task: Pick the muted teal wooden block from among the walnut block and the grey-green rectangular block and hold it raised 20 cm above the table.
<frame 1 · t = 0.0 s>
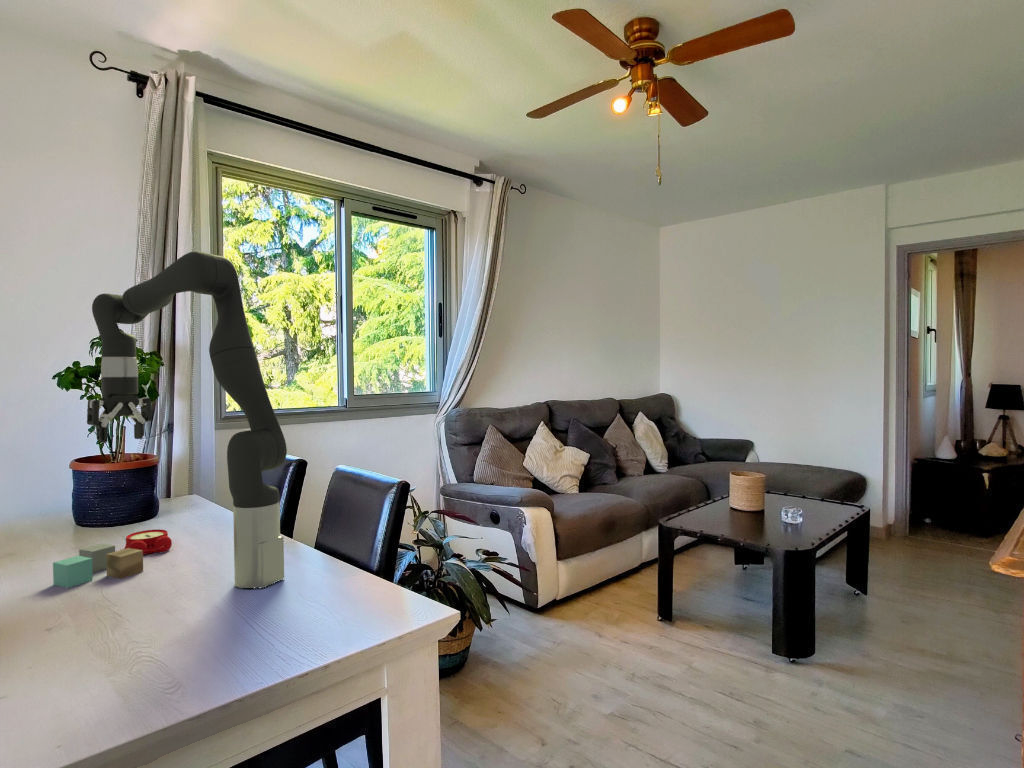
hand: (121, 440, 141), 29 cm above the table, tool pointing down, fingers open, 8 cm apart
grey-green rectangular block: (97, 568, 134), on the table
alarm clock: (148, 552, 147), on the table
walnut block: (125, 573, 130), on the table
teal block: (73, 582, 124), on the table
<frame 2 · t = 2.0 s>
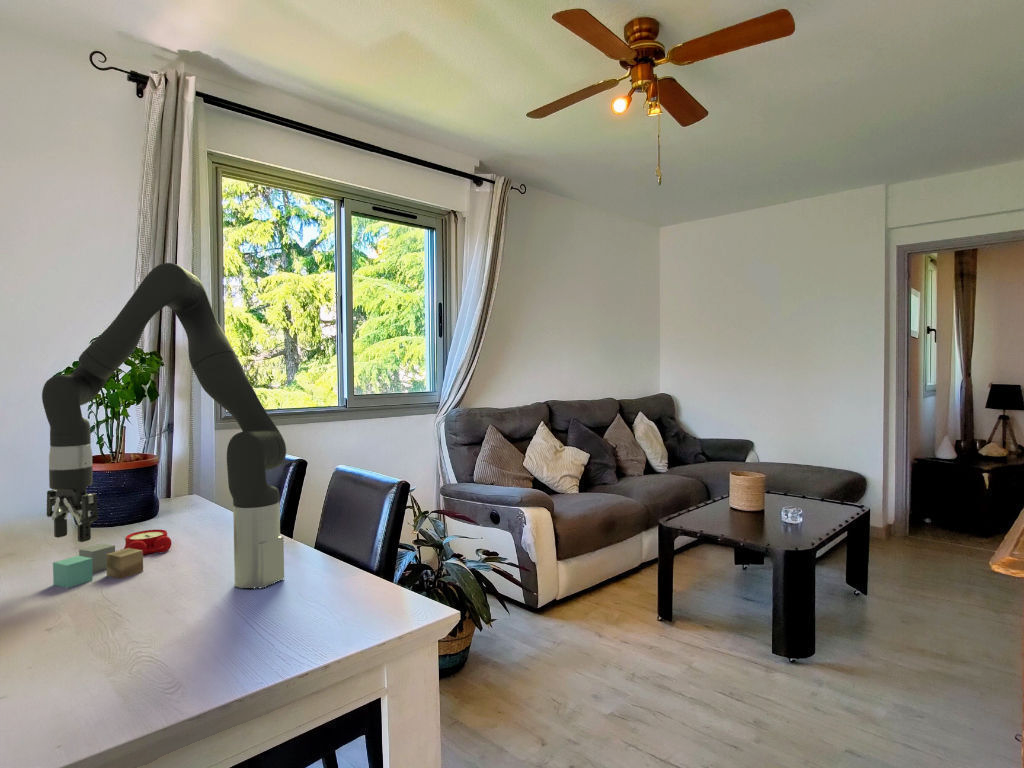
hand: (72, 538, 124), 10 cm above the table, tool pointing down, fingers open, 8 cm apart
nothing on the table moved.
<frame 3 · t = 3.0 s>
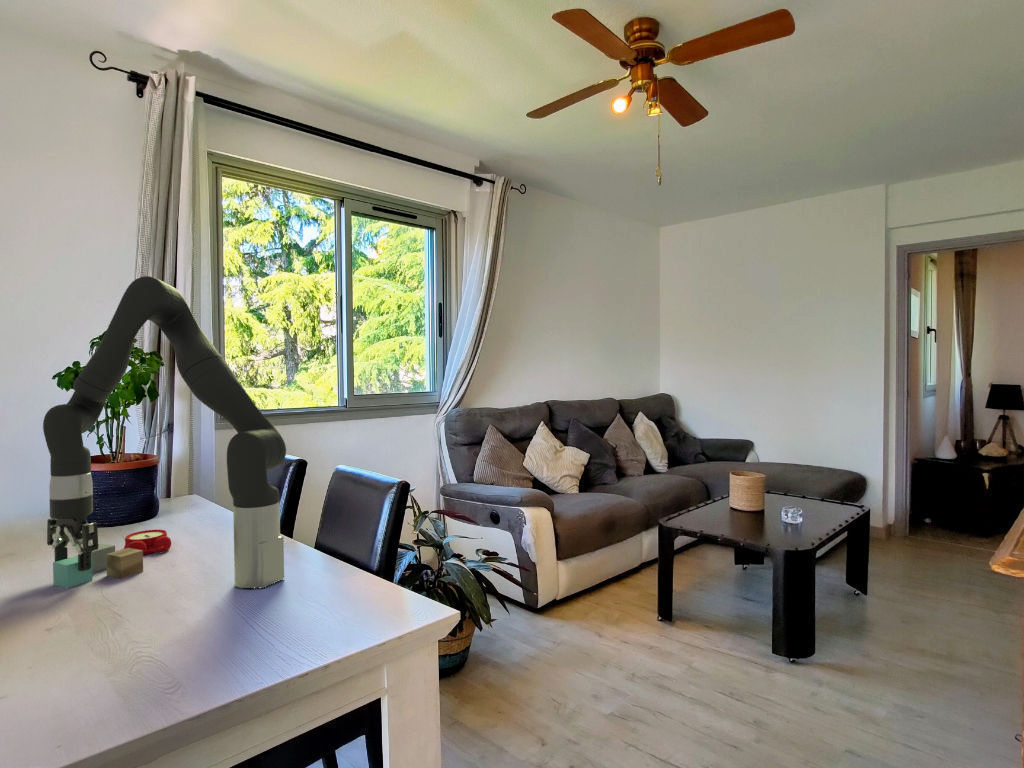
hand: (72, 567, 125), 3 cm above the table, tool pointing down, fingers open, 8 cm apart
nothing on the table moved.
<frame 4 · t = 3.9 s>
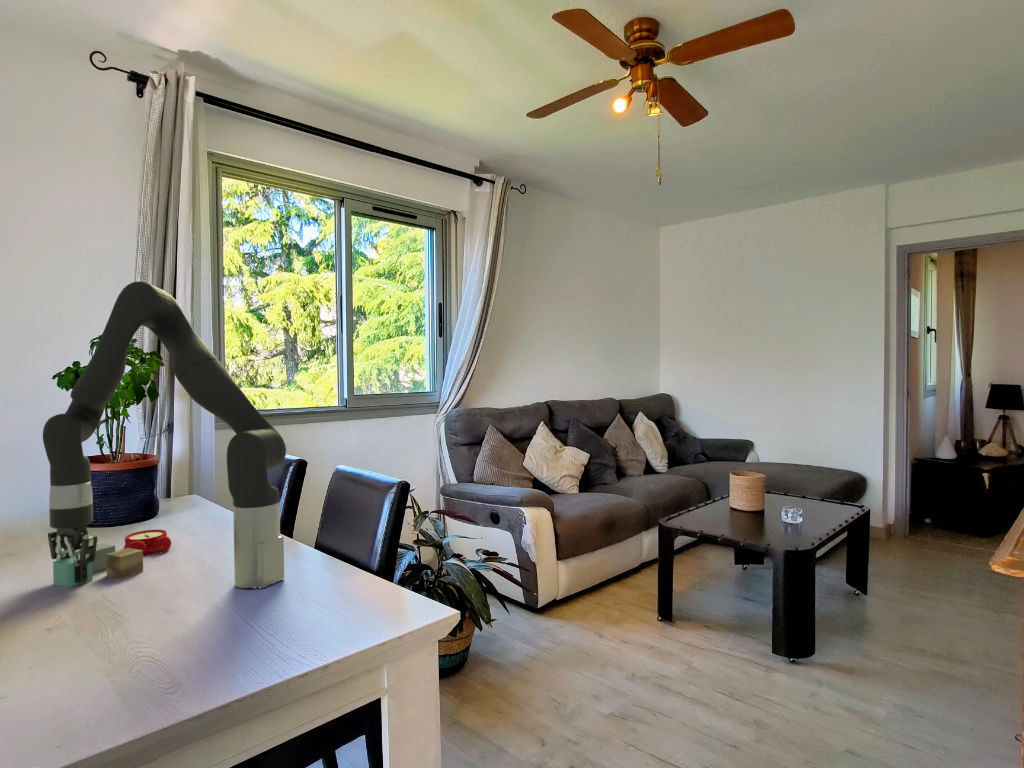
hand: (73, 580, 124), 0 cm above the table, tool pointing down, fingers closed on teal block, 5 cm apart
teal block: (73, 582, 124), on the table, touching gripper
everything else where it was.
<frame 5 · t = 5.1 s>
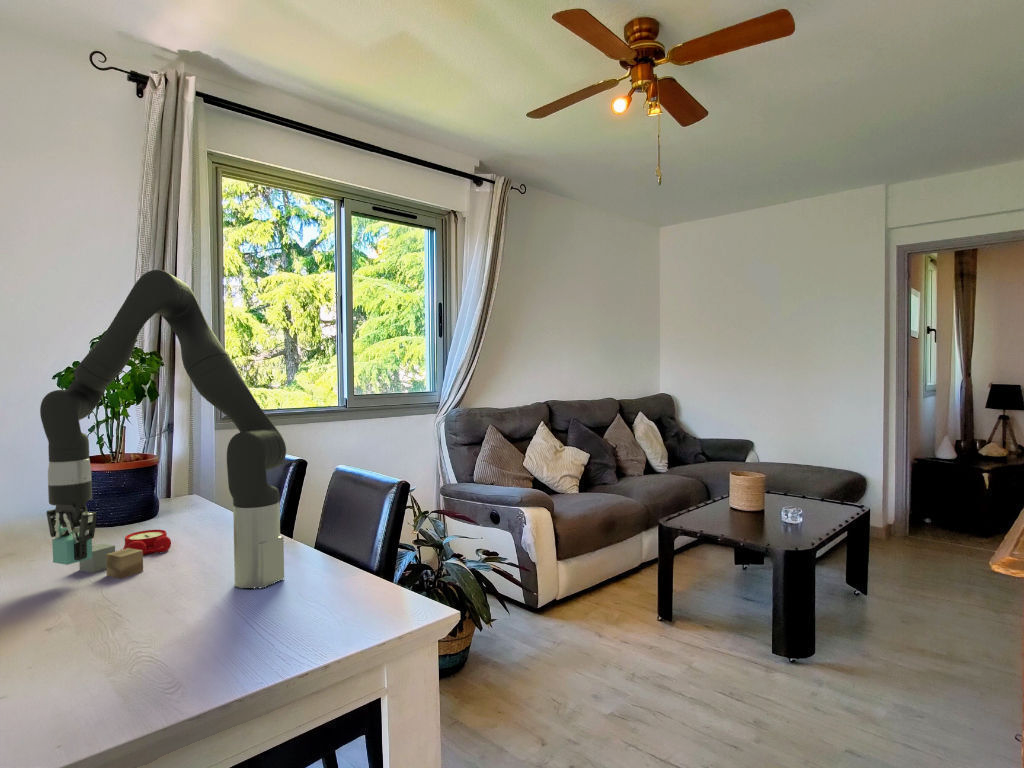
hand: (72, 557, 124), 6 cm above the table, tool pointing down, fingers closed on teal block, 5 cm apart
teal block: (72, 560, 124), point 5 cm above the table, touching gripper
everything else where it was.
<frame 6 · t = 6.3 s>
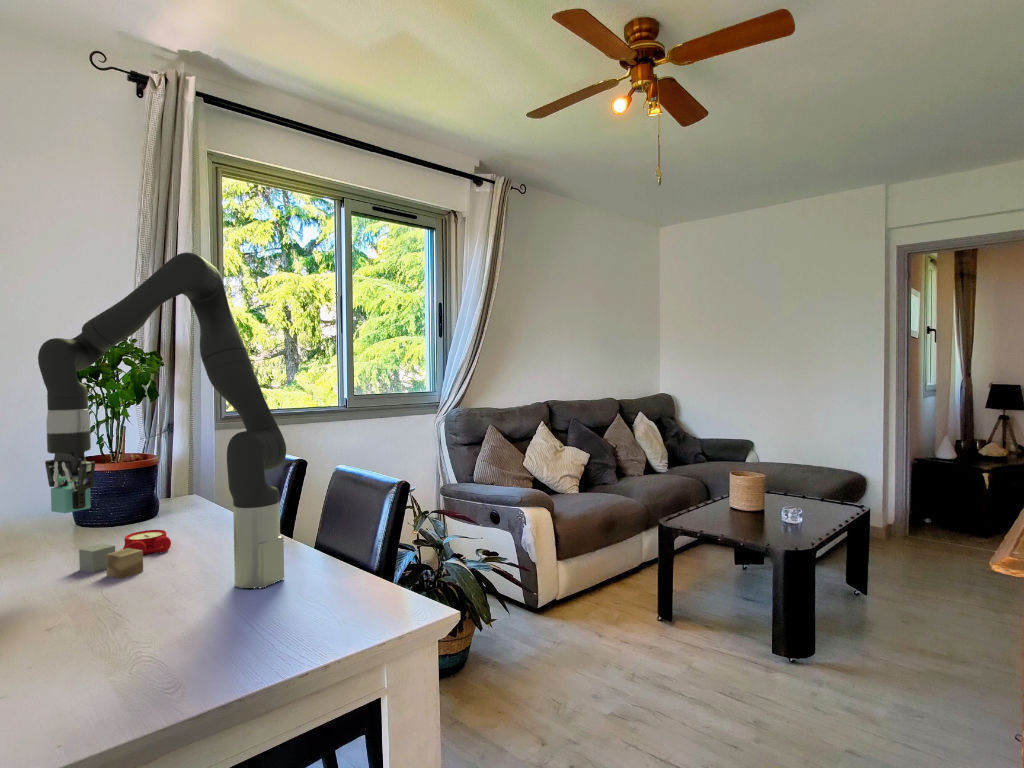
hand: (71, 507, 124), 17 cm above the table, tool pointing down, fingers closed on teal block, 5 cm apart
teal block: (71, 509, 124), point 16 cm above the table, touching gripper
everything else where it was.
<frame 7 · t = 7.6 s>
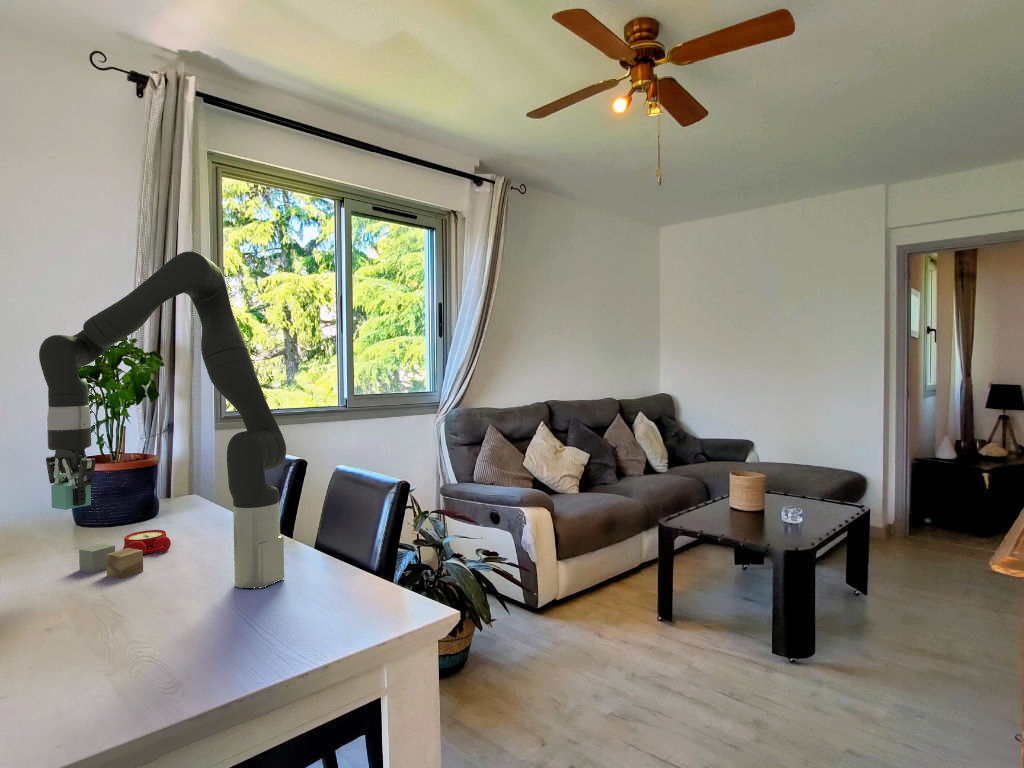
hand: (71, 503, 124), 17 cm above the table, tool pointing down, fingers closed on teal block, 5 cm apart
teal block: (71, 506, 124), point 17 cm above the table, touching gripper
everything else where it was.
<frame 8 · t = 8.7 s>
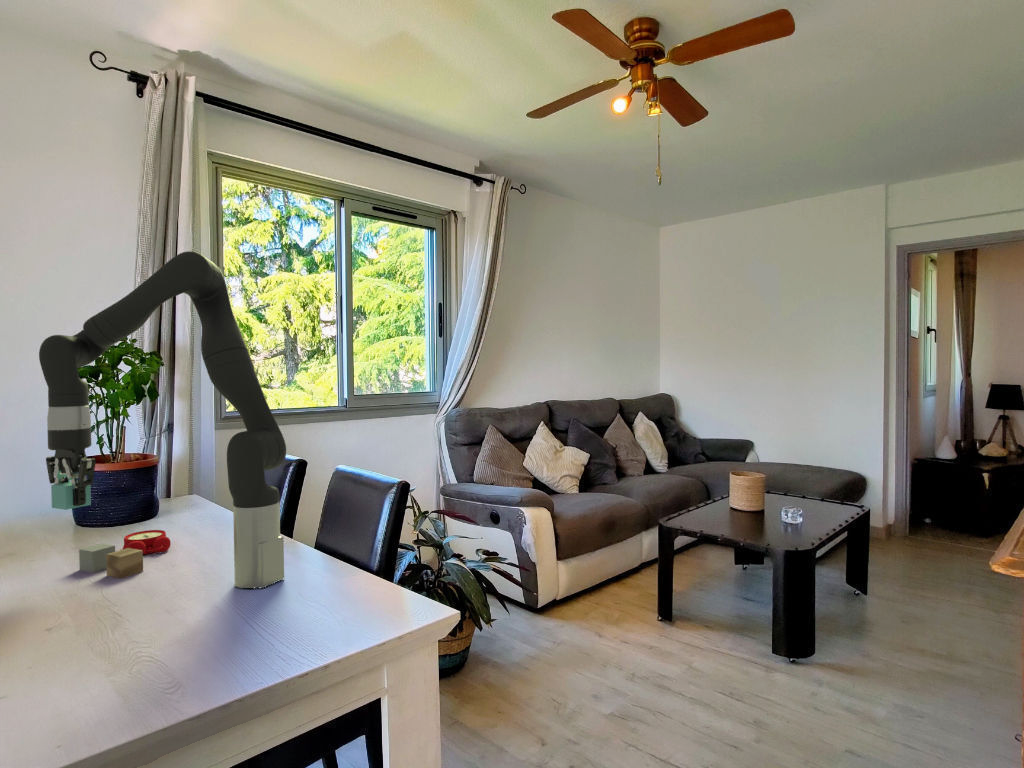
hand: (71, 503, 124), 17 cm above the table, tool pointing down, fingers closed on teal block, 5 cm apart
teal block: (71, 506, 124), point 17 cm above the table, touching gripper
everything else where it was.
at the end: the gripper is holding teal block; teal block point 16.8 cm above the table; walnut block moved 0.1 cm from its start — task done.
